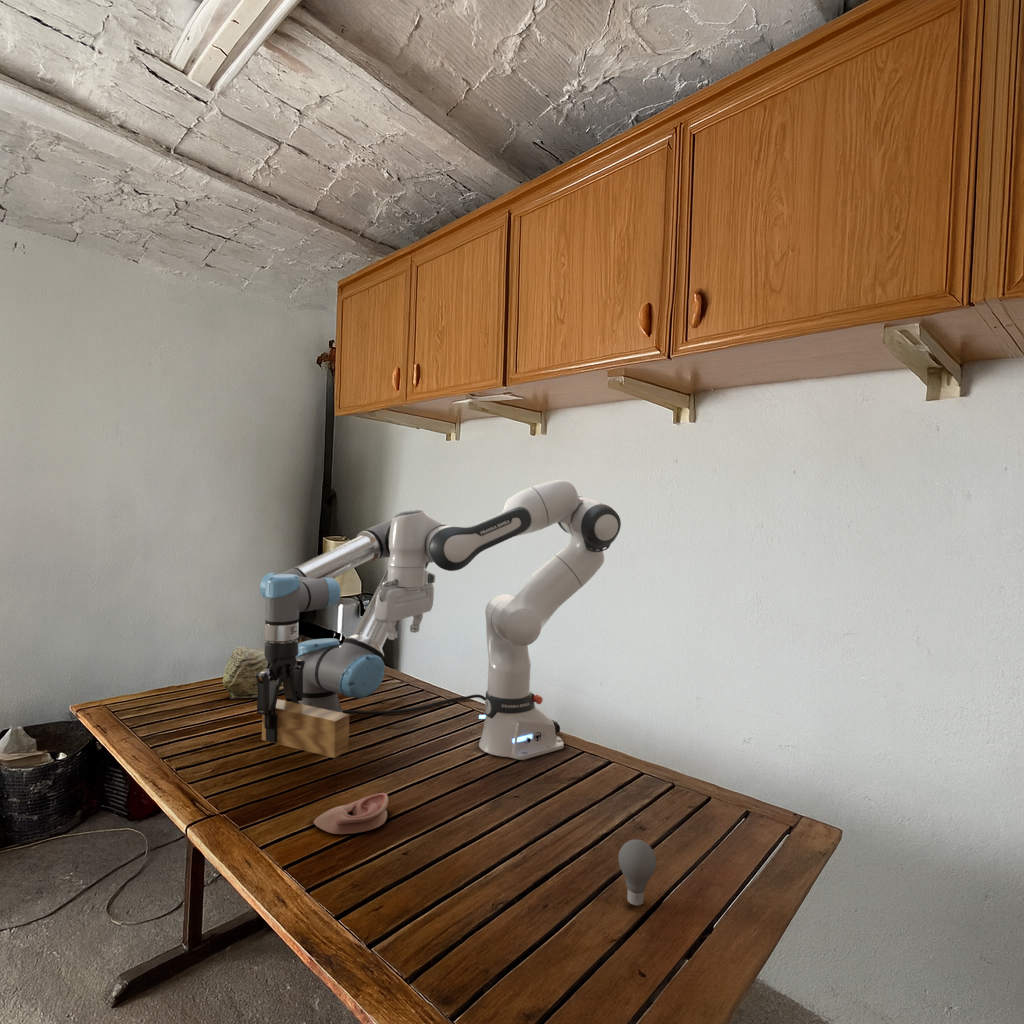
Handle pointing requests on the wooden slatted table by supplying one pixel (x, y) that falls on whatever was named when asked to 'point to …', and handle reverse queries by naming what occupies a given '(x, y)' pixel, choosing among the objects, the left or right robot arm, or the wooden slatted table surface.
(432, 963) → the wooden slatted table surface
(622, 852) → the light bulb
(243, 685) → the fossil
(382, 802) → the anatomical model
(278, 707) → the bar
